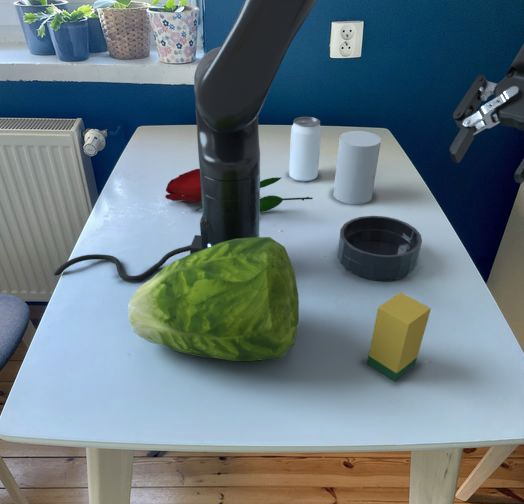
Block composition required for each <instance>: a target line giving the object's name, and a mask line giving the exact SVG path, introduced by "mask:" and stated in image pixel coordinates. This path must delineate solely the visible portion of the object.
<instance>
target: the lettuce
mask: <svg viewBox="0 0 524 504" xmlns="http://www.w3.org/2000/svg"><path fill="white" fill-rule="evenodd" d="M295 273H296V272H295V268H294V266H293V263H292V260H291V259H290V257H289V254H288V252H287V249H286V247H285V246H284V245H282V244H281V243H279V242H278V241H277V240H275V239H273V238H272V237H271V236H259V237H251V238H240V239H233V240H229V241H225V242H221V243H218V244H215V245H213V246H210V247H208V248H206V249H203V250H200V251H198V252H195V253H192V254H190V253H189V254H187V255H185V256H183V257H181V258H179V259H177V260H174V261H173V262H171V263H169V264H167V265H166V266H164V267H163V268H162V269H161V270H160V271H158V272H157V273H156V274H155V275H154V276H153V277H152V278H150V279H149V280H147V281H146V282H144V283H142V284H141V285H140V286H139V287H138V288H137V289H136V290H135V292H134V293H133V294H132V296H131V298H130V299H129V301H128V305H127V316H128V323H129V326H130V328H131V330H132V331H133V332H134V333H135V334H136V335H137V336H139V337H140V338H141V339H143V340H144V341H147V342H148V343H152V344H155V345H159V346H163V347H166V348H168V349H171V350H173V351H176V352H180V353H182V354H187V355H191V356H192V355H193V356H197V357H201V358H214V359H221V360H226V361H233V362H234V361H235V362H251V361H252V362H253V361H264V360H270V359H278V358H282V357H284V355H285V354H286V353H287V352H288V351H289V350H290V349H291V348H293V346H294V344H295V342H296V336H297V332H298V327H299V323H300V307H299V305H300V304H299V302H300V301H299V300H300V299H299V291H298V284H297V278H296V274H295Z"/></svg>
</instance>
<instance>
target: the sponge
mask: <svg viewBox="0 0 524 504" xmlns="http://www.w3.org/2000/svg"><path fill="white" fill-rule="evenodd" d="M431 310H432V308H431V307H429V306H427V305H426V304H424V303H422V302H420V301H418V300H417V299H414V298H413V297H410V296H409V295H406V294H404V293H402V292H399V293H397V294H396V295H394V296H393V297H391V298H389V299H388V300H387V301H385V302H384V303H382V304H380V305H379V306H378V307H377V312H376V316H375V320H374V321H375V322H374V326H373V331H372V337H371V341H370V347H369V352H368V357H367V362H366V364H367V365H368V366H370V367H372V368H373V369H375V370H376V371H377V372H379V373H381V374H382V375H384V376H386V377H387V378H389V379H390V380H391V381H393V382H396V381H397V380H399V379H400V378H401V377H403V376H404V375H405V374H406V373H408V372H409V371H410V370H411V369H413V367H415V366H416V364H417V360H418V356H419V353H420V349H421V347H422V342H423V338H424V336H425V331H426V328H427V324H428V322H429V317H430V314H431Z"/></svg>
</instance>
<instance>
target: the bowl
mask: <svg viewBox="0 0 524 504" xmlns="http://www.w3.org/2000/svg"><path fill="white" fill-rule="evenodd" d="M422 245H423V238H422V234H421V233H420V232H419V231H418V230H417V229H416V228H415V227H414V226H412V224H409V223H408V222H406V221H403V220H400V219H397V218H394V217H390V216H382V215H364V216H359V217H356V218H352V219H350V220H348V221H346V222H345V223H344V224H343V225H342V227H341V228H340V230H339V238H338V245H337V246H338V247H337V260H338V261H339V262H340V264H341V265H342V267H344V268H345V270H347V271H348V272H350V273H351V274H353V275H355V276H357V277H359V278H363V279H366V280H372V281H379V282H380V281H381V282H384V281H394V280H399V279H402V278H403V277H406V276H408V275H409V274H411V273H412V272H413V271H415V269H416V266H417V264H418V260H419V257H420V254H421V253H420V252H421V249H422Z"/></svg>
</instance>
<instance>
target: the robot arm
mask: <svg viewBox="0 0 524 504" xmlns="http://www.w3.org/2000/svg"><path fill="white" fill-rule="evenodd" d="M317 2H318V0H243V3H242V5H241V8H240V10H239V11H238V15H237V17H236V19H235V20H234V23H233V25H232V27H231V28H230V30H229V32H228V34H227V35H226V37H225V39H224V41H223V42H222V44H221V46H218V47H214V48H213V49H210V50H209V51H207V52H206V53H205V54H204V55H203V56H202V58H200V60H199V62H198V63H197V66H196V68H195V72H194V77H193V89H194V90H193V91H194V105H195V106H194V107H195V118H196V121H195V122H196V135H197V137H196V138H197V152H198V165H199V169H200V180H201V195H202V210H201V211H202V214H201V218H200V220H199V230H200V231H199V232H200V234H195V235H194V236H193V239H192V241H191V244H189V245H186V246H182V247H178V248H175V249H173V250H171V251H169V252H167V253H166V254H164V255H163V256H162V257H161V258H160V260H159V261H158V262H156V263H154V265H152V266H151V267H149V269H147V270H146V271H144V272H143V273H140V274H137V275H127V274H125V272H124V271H123V268H122V264H121V261H120V259H118V257H116V256H113V255H111V254H101V253H100V254H99V253H98V254H95V253H93V254H85V255H80V256H76V257H73V258H71V259H69V260H68V261H65V262H64V263H63V264H61V265H60V266H59V267H58V268H57V269H56V270H55V271H54V273H53V276H55V277H57V276H60V275H61V274H62V273H63V272H64V271H66V269H68V268H70V267H71V266H73V265H76V264H77V263H80V262H85V261H91V260H93V261H94V260H102V261H103V260H104V261H109V262H113V263H114V265H115V267H116V271H117V274H118V276H119V278H121V279H122V280H124V281H126V282H127V281H128V282H139V281H142V280H145V279H147V278H148V277H149V276H151V274H153V273H154V272H156V271H157V270H158V269H159V268H161V267H162V266H163V265H164V264H165V263H166V262H167V261H168V260H169V259H170V258H172V257H174V256H176V255H179V254H183V253H186V252H189V255H190V254H192V253H195V252H198V251H200V250H203V249H206V248H208V247H210V246H213V245H215V244H218V243H221V242H225V241H229V240H233V239H240V238H251V237H260V215H261V214H260V213H261V212H260V199H261V198H260V197H261V188H260V181H261V148H260V147H261V145H260V135H259V134H260V132H259V114H260V112H261V111H262V108H263V106H264V104H265V101H266V99H267V97H268V94H269V91H270V89H271V88H272V85H273V82H274V80H275V78H276V76H277V73H278V71H279V68H280V67H281V64H282V62H283V60H284V58H285V56H286V54H287V52H288V49H290V48H289V47H290V46H291V44H292V43H293V40H294V39H295V37H296V35H297V34H298V32H299V30H300V29H301V27H302V26H303V24H304V23H305V21H306V20H307V18H308V16H309V15H310V13H311V11H312V10H313V8H314V6H315V5H316V3H317ZM486 78H487V77H486V76H485V75H484V74H480V75H478V76H477V77H476V78H475V79H474V81H473V82H472V84H471V86H470V87H469V88H468V90H467V92H466V93H465V94H464V96H463V98H462V99H461V101H460V102H459V104H458V105H457V106H456V108H455V110H454V111H453V113H452V117H453V120H454V123H455V124H456V126H457V128H459V131H458V133H457V135H456V136H455V138H454V140H453V141H452V143H451V144H450V147H449V153H450V155H449V156H450V158H451V160H452V162H454V163H457V164H460V163H461V161H462V160H463V158H464V156H465V154H466V153H467V151H468V149H469V147H470V146H471V144H472V142H473V141H474V139H475V137H474V136H475V135H477V134H479V133H481V132H483V131H484V130H485V129H492V128H493V127H495V126H497V125H498V124H501V126H503V127H507V128H515V129H517V130H519V131H521V132H524V43H523V44H522V46H521V48H520V50H519V51H518V53H517V54H516V56H515V58H514V60H513V61H512V62H511V64H510V67H509V68H508V71H507V73H506V74H505V76H504V77H503V79H502V80H500V81H499V82H498V83H496V82H493V81H489V80H487V79H486ZM492 95H493V99H491V100H490V101H487V100H488V99H489V97H490V96H492ZM482 102H486V103H485V104H483V105H481V104H482ZM494 112H495V113H494ZM493 113H494V114H493ZM513 178H514V181H515V182H514V183H518V184H521V185H522V184H523V183H524V158H523V159H522V161H521V162H520V164H519V165H518V167H517V169H515V172H514V173H513Z"/></svg>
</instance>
